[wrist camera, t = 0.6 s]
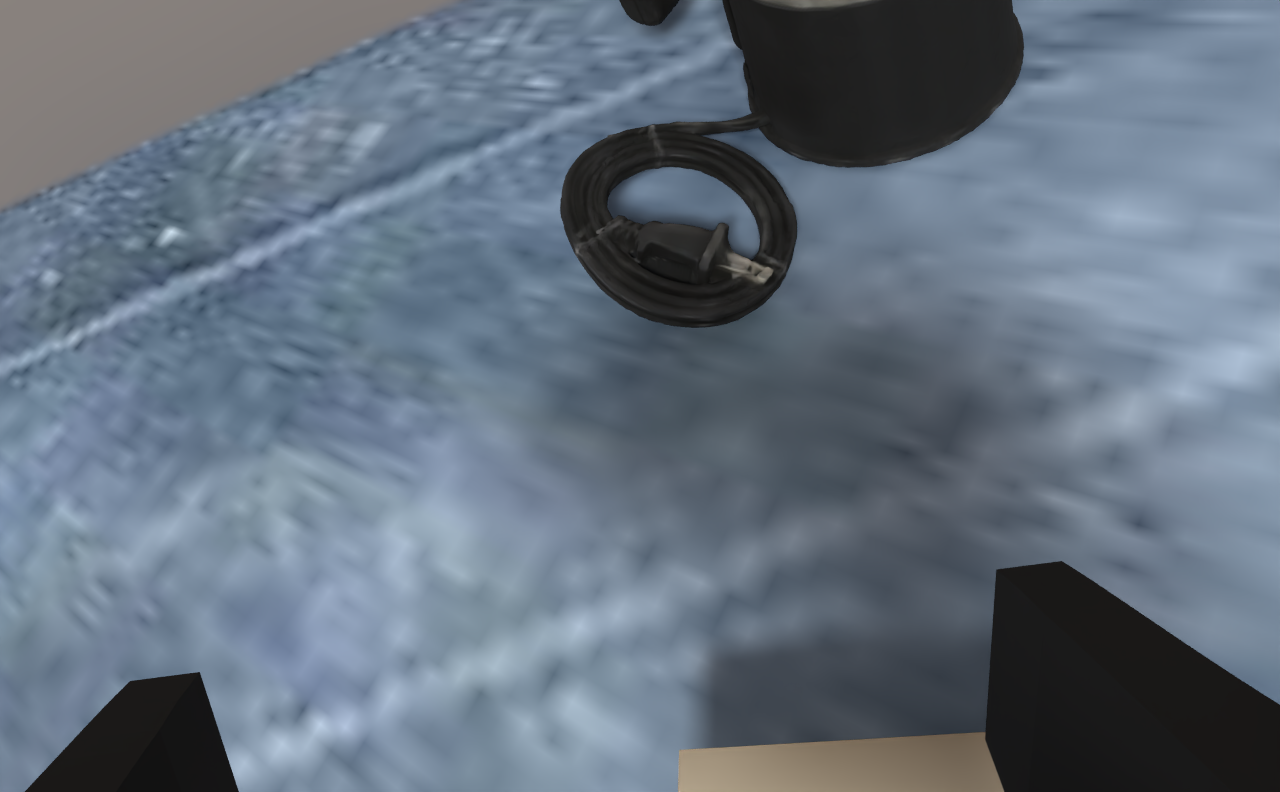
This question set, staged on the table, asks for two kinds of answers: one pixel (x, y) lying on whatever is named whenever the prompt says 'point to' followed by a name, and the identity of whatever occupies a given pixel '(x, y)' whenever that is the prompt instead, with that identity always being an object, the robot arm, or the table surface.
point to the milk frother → (788, 137)
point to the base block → (845, 766)
